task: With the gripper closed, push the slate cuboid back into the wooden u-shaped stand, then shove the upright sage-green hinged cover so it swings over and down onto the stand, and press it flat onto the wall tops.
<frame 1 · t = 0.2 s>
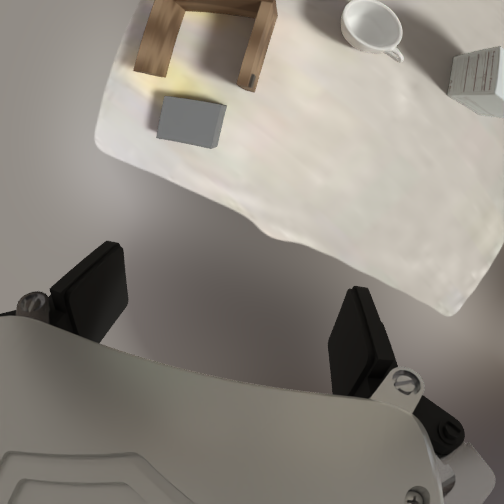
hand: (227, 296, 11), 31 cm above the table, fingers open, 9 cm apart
wooden u-shaped stand: (215, 43, 31), on the table
teacup: (368, 39, 28), on the table
supplement box: (466, 85, 28), on the table
slate cuboid: (195, 120, 37), on the table
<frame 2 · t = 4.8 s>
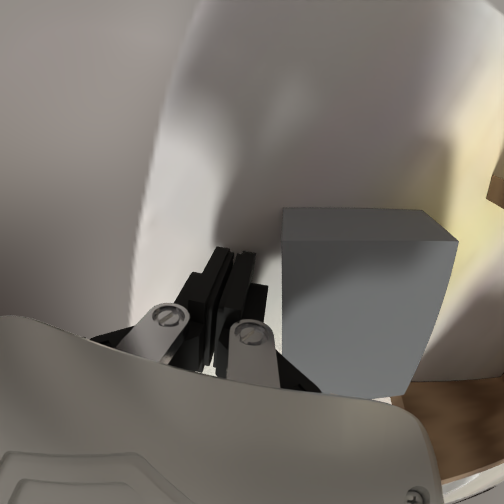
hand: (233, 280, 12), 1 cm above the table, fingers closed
teacup: (431, 454, 21), on the table
slate cuboid: (348, 289, 13), on the table, touching gripper
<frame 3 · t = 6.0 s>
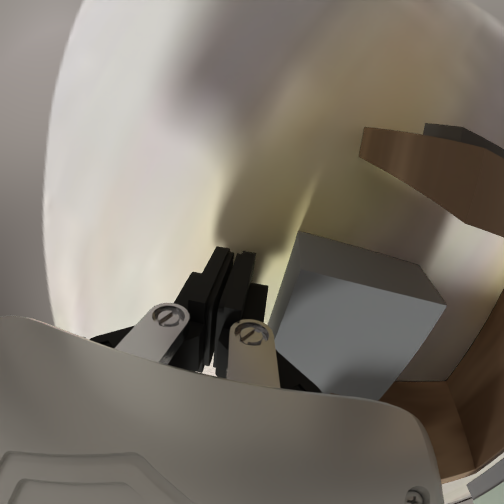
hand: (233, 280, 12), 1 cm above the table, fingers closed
wooden u-shaped stand: (433, 305, 12), on the table
slate cuboid: (331, 316, 14), on the table
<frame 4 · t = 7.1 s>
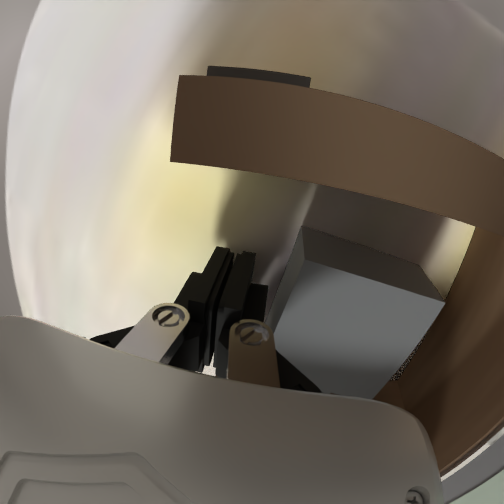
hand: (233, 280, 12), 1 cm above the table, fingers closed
wooden u-shaped stand: (361, 293, 13), on the table
slate cuboid: (330, 312, 14), on the table
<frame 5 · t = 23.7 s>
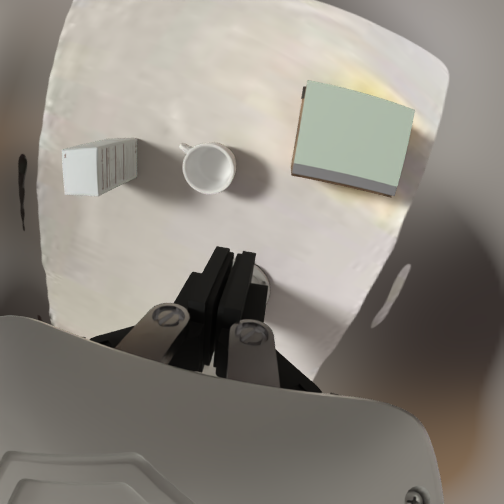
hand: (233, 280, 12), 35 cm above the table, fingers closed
wooden u-shaped stand: (342, 138, 41), on the table
teacup: (211, 159, 45), on the table
cover: (355, 138, 33), point 8 cm above the table, hinge at 2.7°
supplement box: (121, 157, 46), on the table
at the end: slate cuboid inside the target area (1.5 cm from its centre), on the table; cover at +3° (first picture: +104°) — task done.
